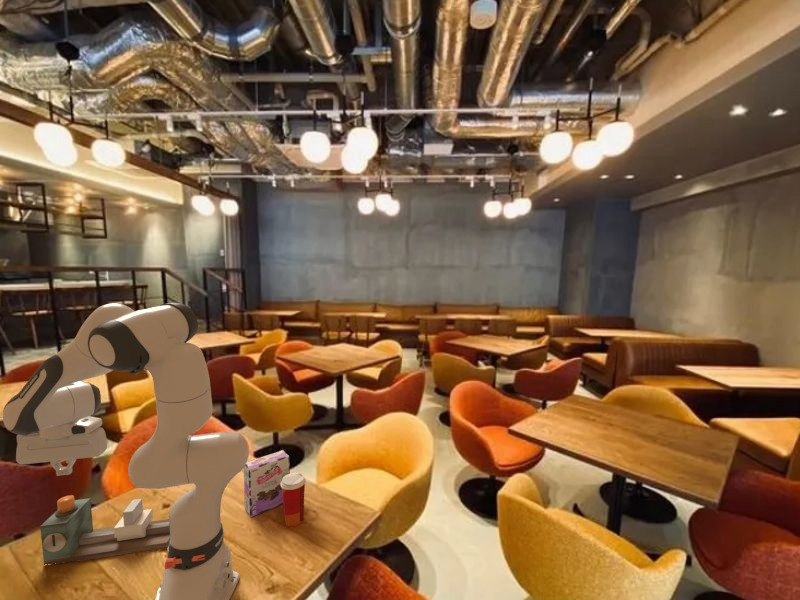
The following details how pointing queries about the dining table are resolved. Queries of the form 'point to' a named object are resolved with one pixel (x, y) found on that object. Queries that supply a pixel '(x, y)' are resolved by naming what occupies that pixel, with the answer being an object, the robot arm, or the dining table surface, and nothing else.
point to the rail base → (118, 546)
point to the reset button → (66, 504)
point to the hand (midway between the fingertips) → (64, 474)
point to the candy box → (265, 482)
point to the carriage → (133, 521)
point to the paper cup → (293, 498)
